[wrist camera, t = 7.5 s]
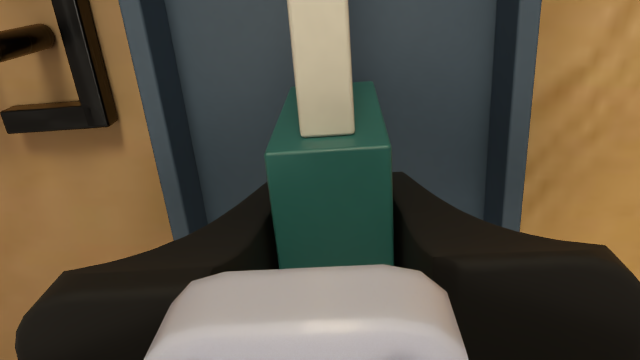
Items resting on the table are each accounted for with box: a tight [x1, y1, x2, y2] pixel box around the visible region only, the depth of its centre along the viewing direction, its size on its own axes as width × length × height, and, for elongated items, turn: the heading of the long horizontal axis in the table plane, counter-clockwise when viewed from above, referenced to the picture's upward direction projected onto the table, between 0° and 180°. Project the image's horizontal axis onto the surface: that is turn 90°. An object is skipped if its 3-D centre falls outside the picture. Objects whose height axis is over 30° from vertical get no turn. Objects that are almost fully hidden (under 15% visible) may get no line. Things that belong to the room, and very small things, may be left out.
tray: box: [119, 0, 542, 241], centre depth 14 cm, size 21×11×2 cm, turn 5°
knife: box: [264, 0, 394, 269], centre depth 10 cm, size 15×2×5 cm, turn 5°
